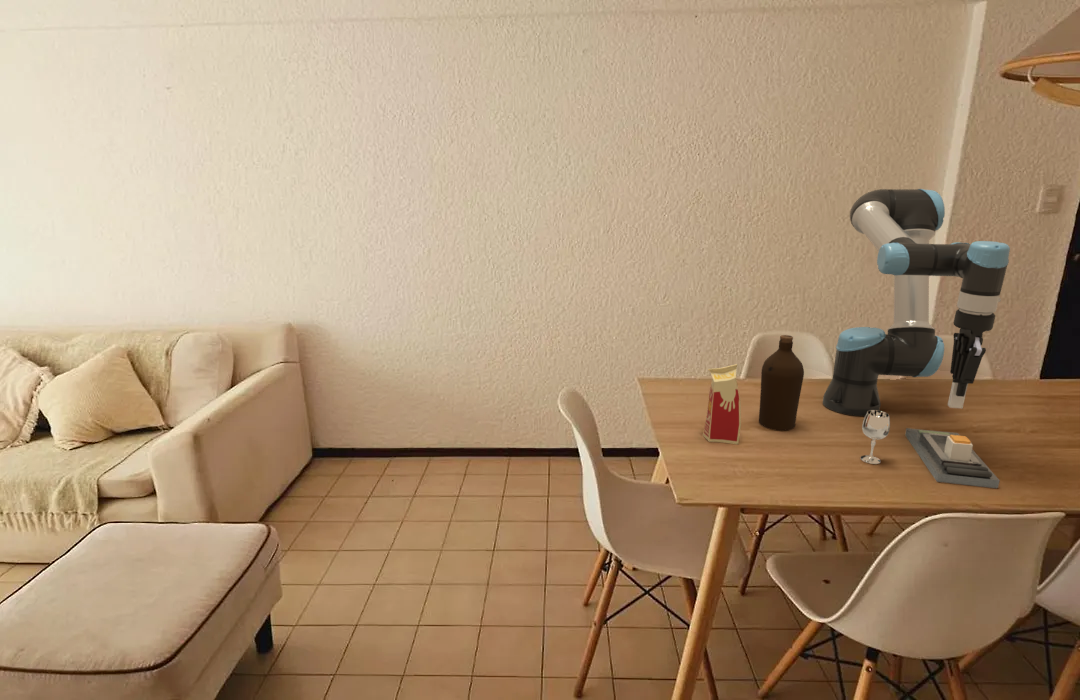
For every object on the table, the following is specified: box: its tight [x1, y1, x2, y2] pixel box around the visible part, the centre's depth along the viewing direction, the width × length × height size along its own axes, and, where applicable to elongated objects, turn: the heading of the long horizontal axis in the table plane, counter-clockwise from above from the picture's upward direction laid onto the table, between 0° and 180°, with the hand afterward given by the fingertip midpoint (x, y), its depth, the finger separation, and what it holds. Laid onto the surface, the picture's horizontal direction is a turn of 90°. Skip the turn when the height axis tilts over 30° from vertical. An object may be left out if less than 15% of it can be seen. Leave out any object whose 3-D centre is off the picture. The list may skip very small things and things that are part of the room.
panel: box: [904, 427, 1001, 489], centre depth 152 cm, size 12×26×3 cm, turn 165°
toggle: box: [944, 435, 974, 461], centre depth 147 cm, size 4×4×6 cm
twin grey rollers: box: [943, 463, 992, 478], centre depth 141 cm, size 9×4×1 cm, turn 75°
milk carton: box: [702, 363, 742, 445], centre depth 163 cm, size 9×9×20 cm
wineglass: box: [859, 410, 891, 465], centre depth 151 cm, size 6×6×12 cm
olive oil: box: [758, 334, 805, 432], centre depth 169 cm, size 11×11×25 cm
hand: (955, 406), depth 150 cm, fingers closed
